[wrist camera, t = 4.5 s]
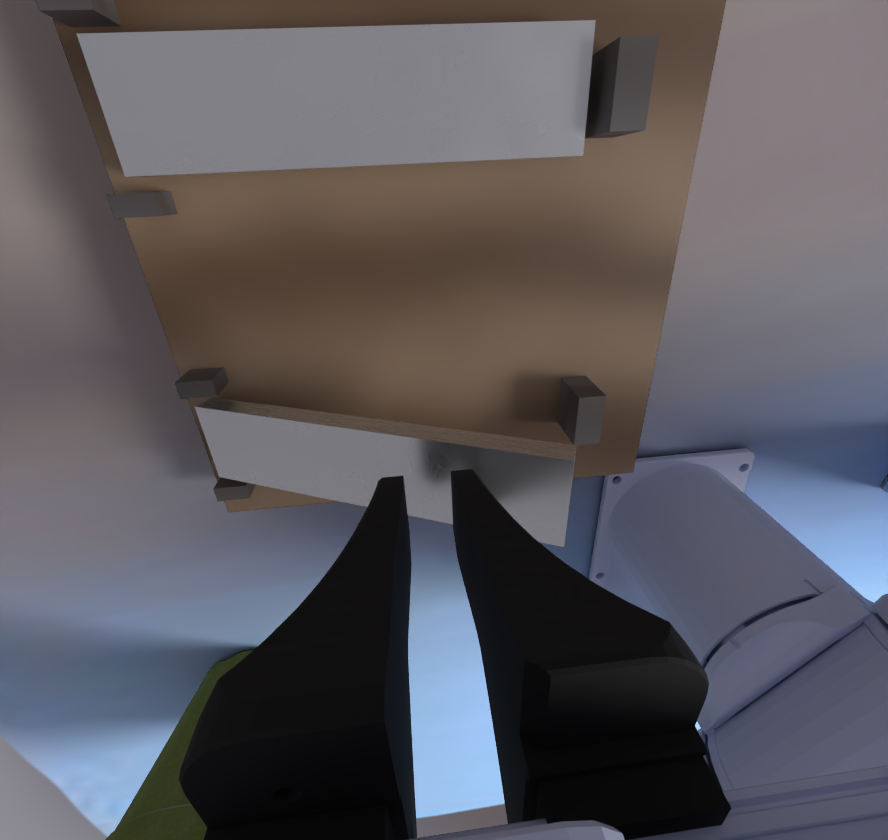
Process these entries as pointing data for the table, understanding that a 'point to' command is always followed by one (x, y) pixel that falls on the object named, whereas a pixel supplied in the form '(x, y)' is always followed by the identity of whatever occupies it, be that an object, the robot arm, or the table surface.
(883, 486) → the gum box
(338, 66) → the latch
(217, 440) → the bar
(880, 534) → the table surface
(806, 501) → the table surface
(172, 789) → the plant pot
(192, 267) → the wooden wall rack
